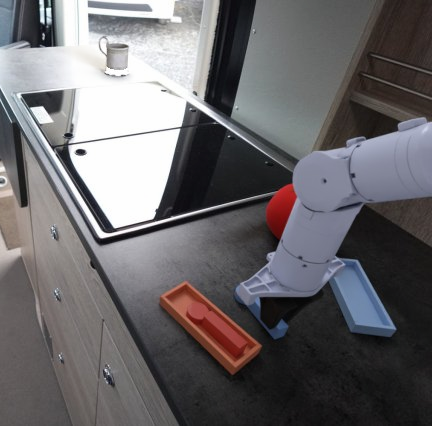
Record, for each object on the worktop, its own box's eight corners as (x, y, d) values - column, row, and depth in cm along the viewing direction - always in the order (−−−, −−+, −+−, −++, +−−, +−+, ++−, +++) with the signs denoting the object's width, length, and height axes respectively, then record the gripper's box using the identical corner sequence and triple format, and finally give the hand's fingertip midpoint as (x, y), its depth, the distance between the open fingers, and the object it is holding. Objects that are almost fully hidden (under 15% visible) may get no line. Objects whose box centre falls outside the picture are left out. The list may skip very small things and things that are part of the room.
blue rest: (390, 337, 51) (396, 329, 50) (350, 332, 51) (355, 324, 50) (353, 267, 62) (357, 259, 60) (320, 263, 62) (324, 256, 61)
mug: (134, 72, 144) (136, 39, 137) (117, 78, 139) (119, 43, 131) (107, 65, 152) (107, 32, 145) (90, 69, 146) (89, 36, 139)
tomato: (276, 210, 74) (293, 163, 67) (341, 240, 67) (366, 191, 61) (248, 235, 67) (263, 186, 61) (316, 271, 61) (341, 220, 54)
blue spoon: (288, 334, 51) (293, 324, 49) (270, 341, 50) (275, 331, 48) (246, 287, 57) (250, 277, 56) (230, 292, 56) (233, 282, 55)
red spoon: (247, 349, 48) (251, 339, 47) (232, 361, 47) (236, 351, 45) (196, 304, 54) (198, 293, 53) (181, 313, 52) (183, 303, 51)
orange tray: (258, 353, 48) (262, 345, 47) (232, 375, 46) (235, 367, 45) (184, 288, 57) (186, 280, 56) (158, 303, 54) (160, 296, 53)
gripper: (327, 213, 48) (293, 286, 56) (233, 238, 43) (211, 313, 51) (376, 249, 42) (331, 323, 51) (274, 281, 38) (243, 356, 46)
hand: (273, 321), depth 51 cm, fingers closed on blue spoon, 1 cm apart
